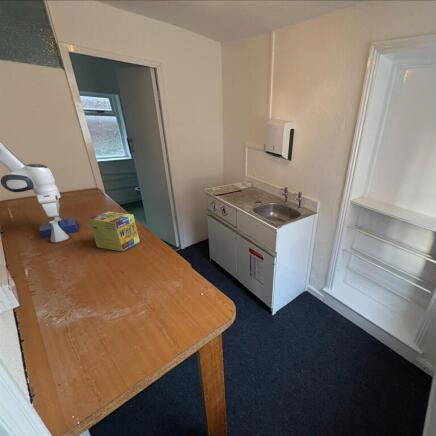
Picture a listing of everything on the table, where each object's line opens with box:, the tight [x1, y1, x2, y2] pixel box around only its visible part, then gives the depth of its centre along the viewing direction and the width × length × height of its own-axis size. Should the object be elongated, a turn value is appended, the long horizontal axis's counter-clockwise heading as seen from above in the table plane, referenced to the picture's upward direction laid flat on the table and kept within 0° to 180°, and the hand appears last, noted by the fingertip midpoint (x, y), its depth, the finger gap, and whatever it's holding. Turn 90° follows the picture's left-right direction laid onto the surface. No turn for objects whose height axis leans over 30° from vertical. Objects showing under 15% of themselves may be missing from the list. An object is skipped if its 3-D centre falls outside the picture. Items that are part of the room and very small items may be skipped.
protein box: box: [87, 211, 140, 252], centre depth 114 cm, size 10×15×16 cm
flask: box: [48, 221, 70, 243], centre depth 118 cm, size 7×7×10 cm
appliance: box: [39, 217, 79, 239], centre depth 127 cm, size 14×11×6 cm
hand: (57, 219), depth 127 cm, fingers closed, pressing on start button
